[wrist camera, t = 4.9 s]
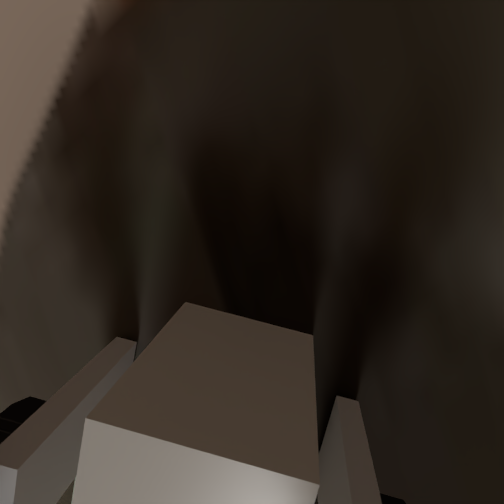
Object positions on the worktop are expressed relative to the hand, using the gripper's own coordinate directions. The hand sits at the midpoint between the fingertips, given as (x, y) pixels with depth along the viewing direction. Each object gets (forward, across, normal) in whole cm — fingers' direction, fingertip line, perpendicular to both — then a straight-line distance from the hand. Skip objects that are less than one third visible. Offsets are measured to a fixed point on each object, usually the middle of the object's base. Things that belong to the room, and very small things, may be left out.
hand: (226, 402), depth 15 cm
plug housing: (0, 0, 0) cm, 0 cm away
